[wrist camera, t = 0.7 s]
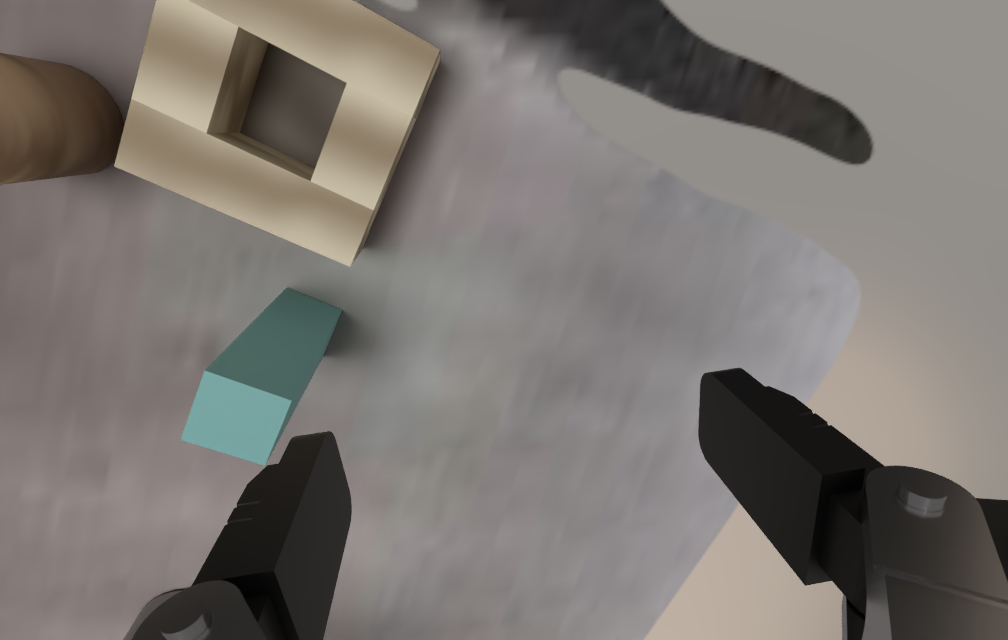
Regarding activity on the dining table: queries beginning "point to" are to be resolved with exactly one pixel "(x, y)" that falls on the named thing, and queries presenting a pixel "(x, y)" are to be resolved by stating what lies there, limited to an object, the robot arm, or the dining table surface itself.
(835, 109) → the dining table surface
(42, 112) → the tan cylinder
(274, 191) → the socket block
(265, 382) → the square peg
